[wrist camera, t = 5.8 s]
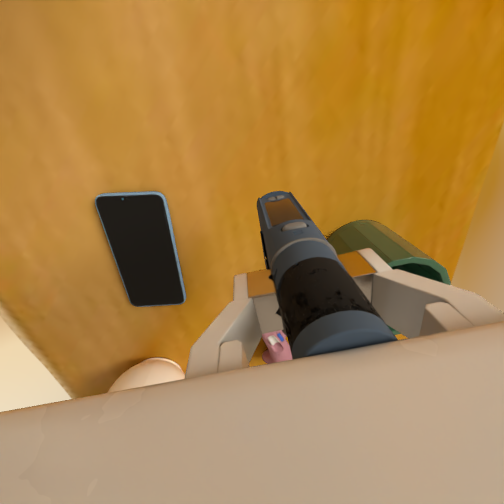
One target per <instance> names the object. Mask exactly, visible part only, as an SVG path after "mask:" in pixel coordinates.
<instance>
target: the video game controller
mask: <svg viewBox="0 0 504 504" xmlns="http://www.w3.org/2000/svg"><path fill="white" fill-rule="evenodd" d="M285 337H286V335H285V334H284V333H283V332H282V330H279V331H274V332H270V333H265V334H262V338H263V340H264V342H265V344H266V346H267V347H268V350H266V351H264V352H263V354H262V358H263V360H264V361H265V362H266V363H267V364H270V363H275V362H281V361H286V360H292V359H293V358H292V354H291V350H290V346H289V344H288V343H287V341H286V339H285Z"/></svg>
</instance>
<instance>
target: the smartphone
mask: <svg viewBox="0 0 504 504" xmlns="http://www.w3.org/2000/svg"><path fill="white" fill-rule="evenodd" d="M95 205H96V208H97V211H98V214H99V217H100V219H101V222H102V225H103V228H104V231H105V233H106V236H107V239H108V242H109V245H110V248H111V250H112V253H113V256H114V259H115V262H116V264H117V267H118V270H119V273H120V276H121V279H122V281H123V284H124V287H125V290H126V293H127V295H128V298H129V301H130V303H131V304H132V305H134V306H137V307H144V306H162V305H179V304H182V303H184V302H185V300H186V293H185V288H184V283H183V278H182V273H181V268H180V263H179V259H178V254H177V249H176V244H175V237H174V234H173V228H172V223H171V218H170V213H169V210H168V205H167V201H166V198H165V196H164V195H163V194H162V193H160V192H155V191H149V192H124V193H104V194H100V195H98V196H97V197H96V199H95Z"/></svg>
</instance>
